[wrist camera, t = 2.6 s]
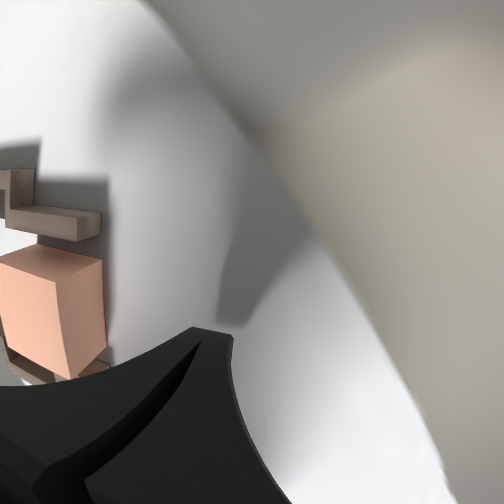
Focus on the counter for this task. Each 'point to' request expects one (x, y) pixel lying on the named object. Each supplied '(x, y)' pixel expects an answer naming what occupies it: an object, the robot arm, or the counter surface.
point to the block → (53, 307)
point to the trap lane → (48, 224)
